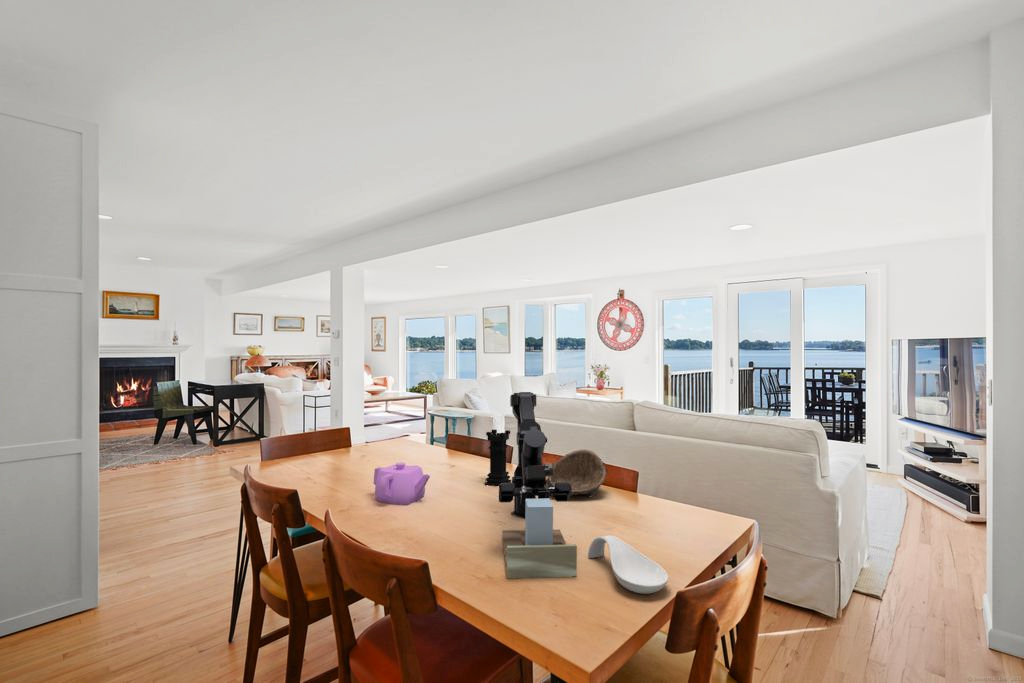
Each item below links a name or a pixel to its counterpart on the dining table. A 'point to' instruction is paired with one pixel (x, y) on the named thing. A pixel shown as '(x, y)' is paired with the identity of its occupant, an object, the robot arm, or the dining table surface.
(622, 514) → the dining table surface
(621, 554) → the spoon rest
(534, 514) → the blue block
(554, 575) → the board
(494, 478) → the chess piece
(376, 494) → the teakettle
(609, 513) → the dining table surface
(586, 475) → the coconut shell half
